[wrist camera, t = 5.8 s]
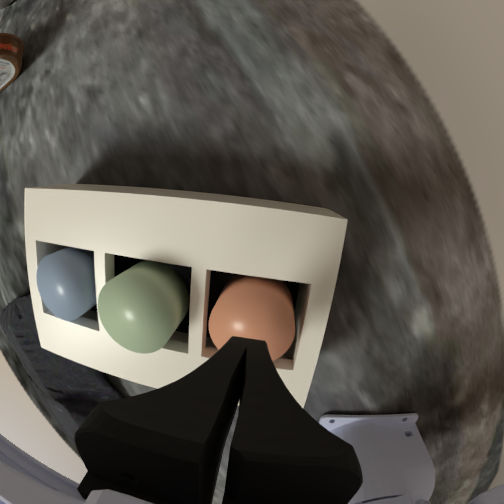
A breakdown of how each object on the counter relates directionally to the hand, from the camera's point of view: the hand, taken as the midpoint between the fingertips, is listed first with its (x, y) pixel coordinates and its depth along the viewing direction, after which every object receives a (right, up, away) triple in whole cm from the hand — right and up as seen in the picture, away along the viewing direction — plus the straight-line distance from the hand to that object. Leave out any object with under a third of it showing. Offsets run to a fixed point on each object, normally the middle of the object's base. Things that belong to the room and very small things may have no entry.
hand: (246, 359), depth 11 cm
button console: (-5, +3, +9) cm, 10 cm away
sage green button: (-5, +2, +4) cm, 7 cm away
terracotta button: (0, +1, +5) cm, 5 cm away
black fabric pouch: (-18, -10, +14) cm, 25 cm away
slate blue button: (-10, +3, +6) cm, 12 cm away
